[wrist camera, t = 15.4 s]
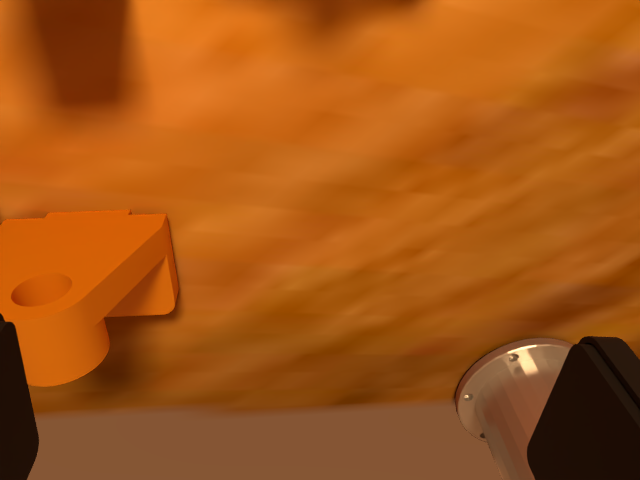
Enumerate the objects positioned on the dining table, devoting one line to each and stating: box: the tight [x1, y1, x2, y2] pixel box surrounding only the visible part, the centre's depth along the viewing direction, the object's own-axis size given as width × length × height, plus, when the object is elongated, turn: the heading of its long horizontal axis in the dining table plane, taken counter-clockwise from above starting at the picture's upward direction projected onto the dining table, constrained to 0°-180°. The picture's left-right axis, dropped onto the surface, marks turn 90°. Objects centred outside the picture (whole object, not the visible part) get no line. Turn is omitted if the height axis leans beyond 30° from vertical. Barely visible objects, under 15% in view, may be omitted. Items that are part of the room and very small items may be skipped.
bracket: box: [0, 210, 179, 387], centre depth 35 cm, size 11×7×12 cm, turn 90°
